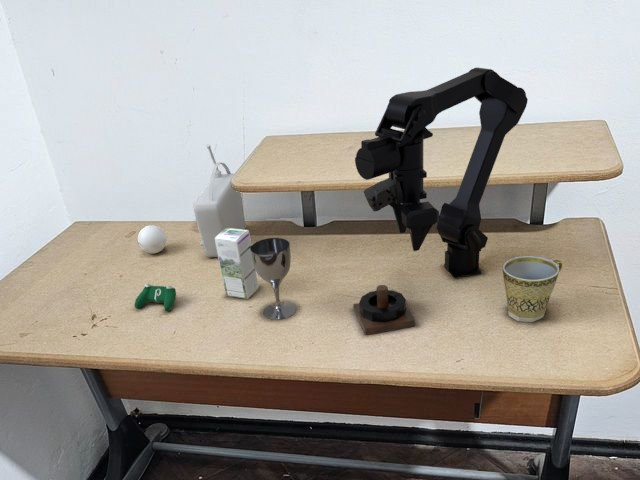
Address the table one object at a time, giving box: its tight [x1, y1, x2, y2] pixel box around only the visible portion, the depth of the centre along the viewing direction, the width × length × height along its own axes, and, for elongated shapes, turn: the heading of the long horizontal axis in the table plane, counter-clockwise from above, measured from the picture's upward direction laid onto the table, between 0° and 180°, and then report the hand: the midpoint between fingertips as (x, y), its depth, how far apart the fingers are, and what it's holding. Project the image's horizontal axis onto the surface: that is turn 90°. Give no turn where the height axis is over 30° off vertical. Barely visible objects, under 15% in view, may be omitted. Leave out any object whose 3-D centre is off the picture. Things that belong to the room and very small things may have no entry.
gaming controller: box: [134, 283, 177, 312], centre depth 141 cm, size 9×4×6 cm
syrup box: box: [215, 228, 260, 300], centre depth 138 cm, size 6×6×14 cm
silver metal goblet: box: [250, 237, 297, 321], centre depth 129 cm, size 8×8×15 cm
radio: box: [193, 143, 246, 258], centre depth 159 cm, size 22×8×25 cm, turn 172°
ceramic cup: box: [502, 255, 563, 323], centre depth 120 cm, size 13×10×10 cm
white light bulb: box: [127, 224, 168, 254], centre depth 164 cm, size 10×7×7 cm
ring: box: [358, 289, 407, 322], centre depth 126 cm, size 9×9×2 cm
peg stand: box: [352, 284, 416, 336], centre depth 125 cm, size 10×10×7 cm
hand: (409, 241), depth 128 cm, fingers open, 9 cm apart
